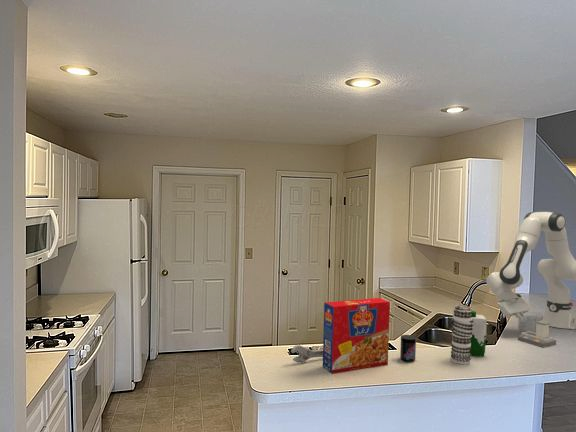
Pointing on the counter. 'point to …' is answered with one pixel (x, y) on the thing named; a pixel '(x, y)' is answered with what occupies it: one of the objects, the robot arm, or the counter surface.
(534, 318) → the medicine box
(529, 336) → the switch panel
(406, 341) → the supplement container
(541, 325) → the switch tab
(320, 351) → the wrench
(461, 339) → the leaning tower model
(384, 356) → the pasta box
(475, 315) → the milk carton
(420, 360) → the counter surface
